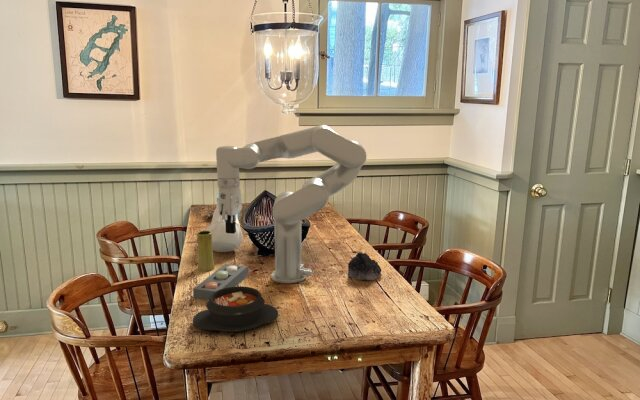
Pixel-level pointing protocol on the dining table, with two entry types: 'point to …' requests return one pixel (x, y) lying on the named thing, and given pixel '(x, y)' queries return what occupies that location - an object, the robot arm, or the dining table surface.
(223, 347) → the dining table surface
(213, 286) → the terracotta button
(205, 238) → the vase
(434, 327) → the dining table surface
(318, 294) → the dining table surface
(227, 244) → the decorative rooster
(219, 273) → the sage button
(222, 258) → the dining table surface
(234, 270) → the cream rounded piece
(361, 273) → the crystal cluster
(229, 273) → the button panel
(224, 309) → the casserole
